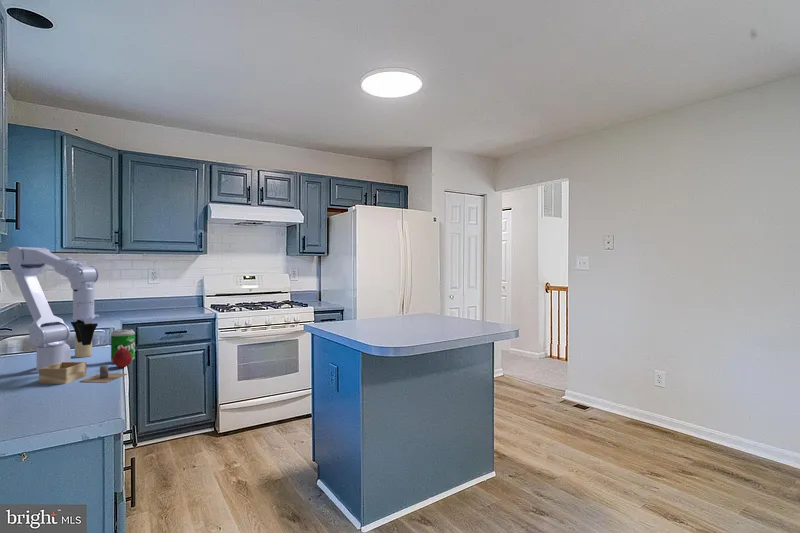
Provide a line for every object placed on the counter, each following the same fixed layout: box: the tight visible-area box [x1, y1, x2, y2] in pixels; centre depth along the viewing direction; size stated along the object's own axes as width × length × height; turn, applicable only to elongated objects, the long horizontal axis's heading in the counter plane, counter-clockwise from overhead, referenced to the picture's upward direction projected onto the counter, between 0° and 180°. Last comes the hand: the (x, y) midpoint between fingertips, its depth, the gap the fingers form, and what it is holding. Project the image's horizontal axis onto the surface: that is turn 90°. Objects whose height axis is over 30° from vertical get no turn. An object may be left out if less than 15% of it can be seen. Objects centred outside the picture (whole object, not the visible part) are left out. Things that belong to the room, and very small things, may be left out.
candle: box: [74, 334, 93, 358], centre depth 171 cm, size 6×6×10 cm
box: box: [38, 361, 87, 385], centre depth 136 cm, size 9×8×5 cm
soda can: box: [110, 328, 136, 363], centre depth 162 cm, size 8×8×12 cm
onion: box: [112, 346, 133, 369], centre depth 152 cm, size 6×6×8 cm
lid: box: [79, 365, 128, 384], centre depth 138 cm, size 10×9×5 cm
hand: (84, 343), depth 144 cm, fingers open, 7 cm apart
